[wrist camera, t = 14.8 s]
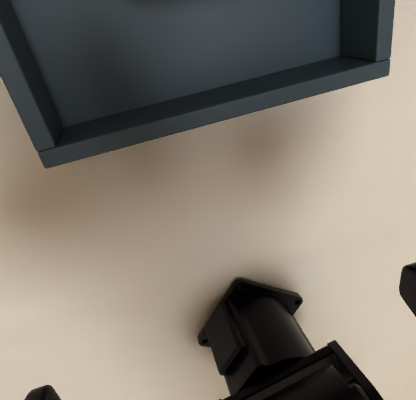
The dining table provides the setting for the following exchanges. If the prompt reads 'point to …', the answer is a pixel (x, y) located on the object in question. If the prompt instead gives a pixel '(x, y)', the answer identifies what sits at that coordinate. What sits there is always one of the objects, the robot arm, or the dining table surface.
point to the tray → (176, 63)
